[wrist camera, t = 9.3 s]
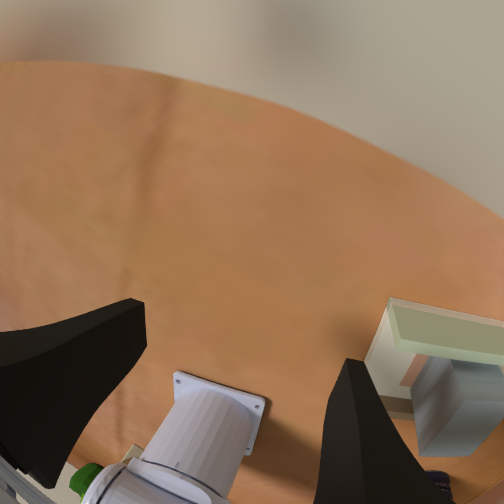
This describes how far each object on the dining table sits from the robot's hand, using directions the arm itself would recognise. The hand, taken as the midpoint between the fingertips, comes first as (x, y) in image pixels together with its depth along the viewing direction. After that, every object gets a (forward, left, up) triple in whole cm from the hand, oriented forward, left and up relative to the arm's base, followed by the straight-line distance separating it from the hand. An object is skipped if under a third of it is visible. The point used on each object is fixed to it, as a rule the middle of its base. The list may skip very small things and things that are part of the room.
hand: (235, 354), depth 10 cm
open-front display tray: (-5, -13, -9) cm, 17 cm away
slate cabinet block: (-5, -13, -8) cm, 16 cm away
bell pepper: (-52, +25, -10) cm, 58 cm away
